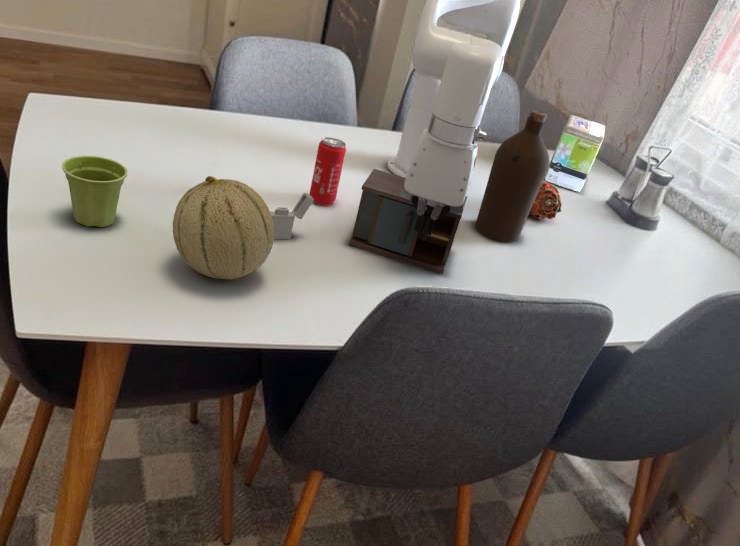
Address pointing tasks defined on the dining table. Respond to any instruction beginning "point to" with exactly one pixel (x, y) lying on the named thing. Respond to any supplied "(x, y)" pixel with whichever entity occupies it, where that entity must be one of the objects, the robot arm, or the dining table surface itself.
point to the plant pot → (94, 188)
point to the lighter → (289, 217)
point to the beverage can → (327, 171)
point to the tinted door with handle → (394, 226)
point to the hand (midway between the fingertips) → (421, 236)
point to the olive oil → (514, 182)
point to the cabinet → (426, 251)
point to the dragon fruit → (546, 202)
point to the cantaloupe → (223, 228)
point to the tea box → (575, 153)
